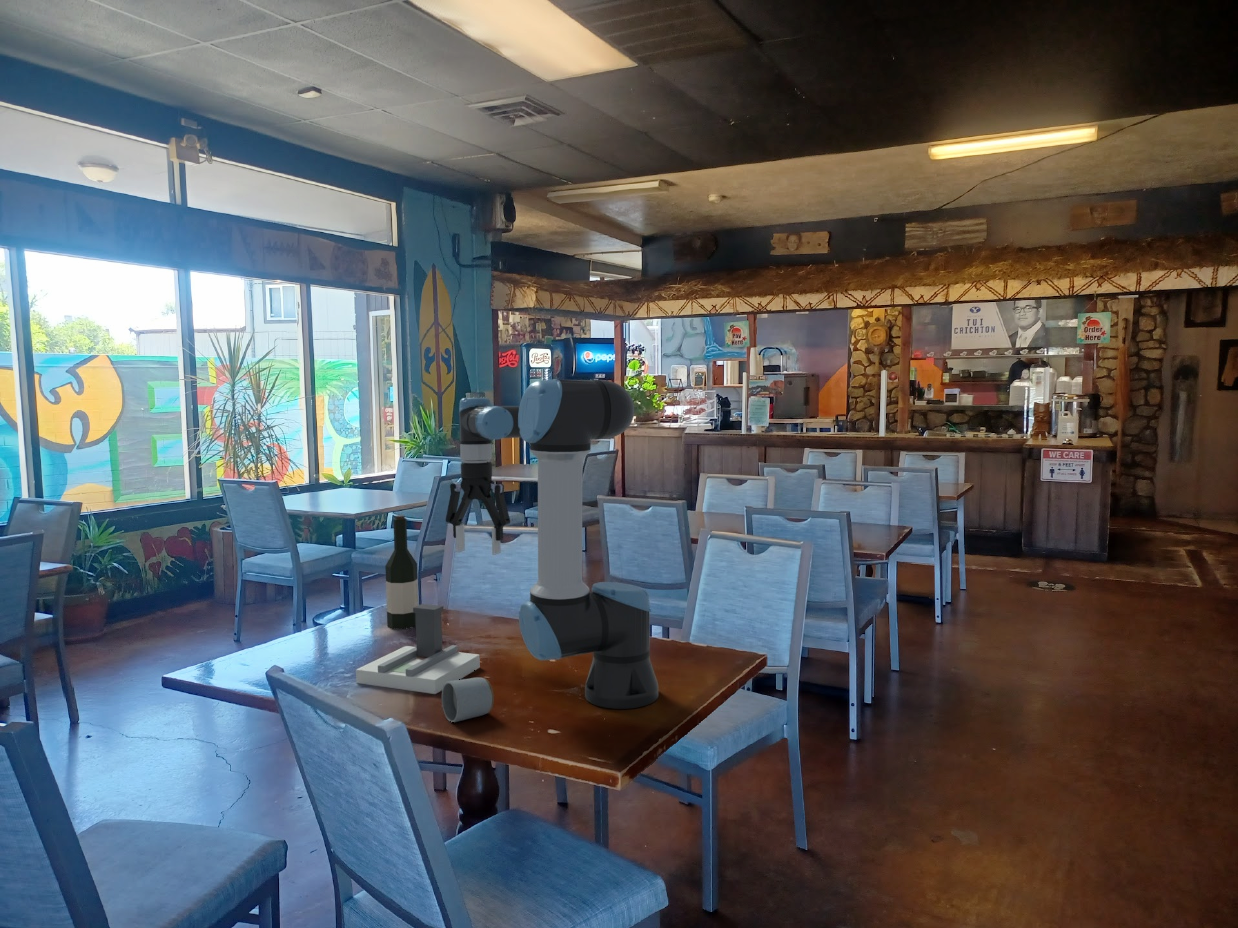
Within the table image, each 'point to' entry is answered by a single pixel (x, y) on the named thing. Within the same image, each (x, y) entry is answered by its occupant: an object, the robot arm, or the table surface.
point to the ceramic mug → (467, 698)
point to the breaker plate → (418, 669)
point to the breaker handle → (428, 629)
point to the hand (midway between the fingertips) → (478, 552)
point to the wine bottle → (401, 580)
